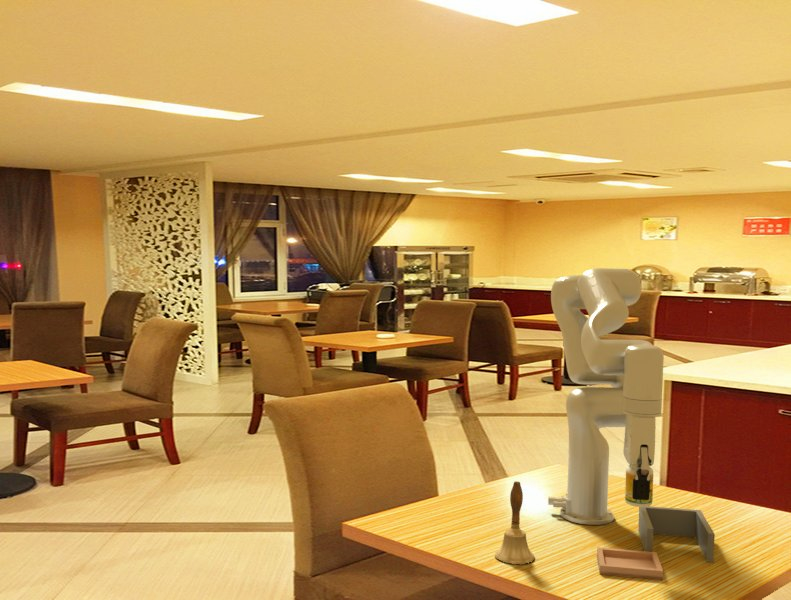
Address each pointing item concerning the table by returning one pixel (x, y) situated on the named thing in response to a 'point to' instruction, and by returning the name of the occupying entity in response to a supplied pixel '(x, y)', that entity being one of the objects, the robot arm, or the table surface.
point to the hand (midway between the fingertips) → (638, 493)
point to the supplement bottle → (629, 487)
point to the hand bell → (515, 534)
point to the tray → (629, 563)
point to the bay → (676, 527)
